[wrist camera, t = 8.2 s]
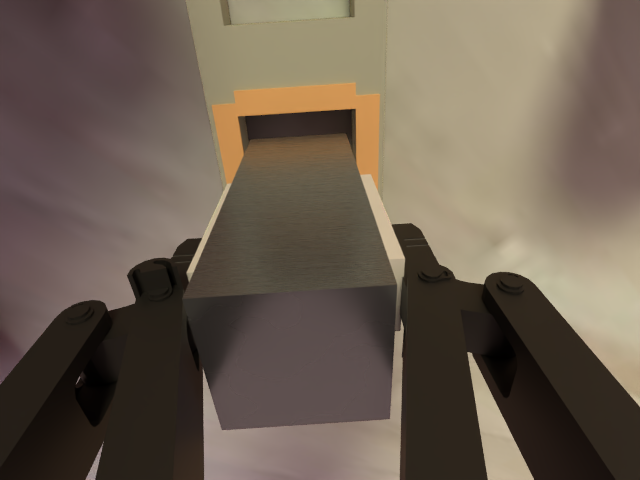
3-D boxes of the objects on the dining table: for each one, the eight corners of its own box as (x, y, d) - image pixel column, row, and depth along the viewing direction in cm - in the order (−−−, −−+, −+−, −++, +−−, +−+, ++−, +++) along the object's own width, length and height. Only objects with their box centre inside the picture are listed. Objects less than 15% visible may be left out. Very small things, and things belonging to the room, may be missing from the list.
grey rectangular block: (262, 223, 21) (222, 429, 11) (250, 139, 19) (182, 299, 8) (347, 217, 21) (389, 419, 11) (345, 133, 19) (397, 284, 8)
